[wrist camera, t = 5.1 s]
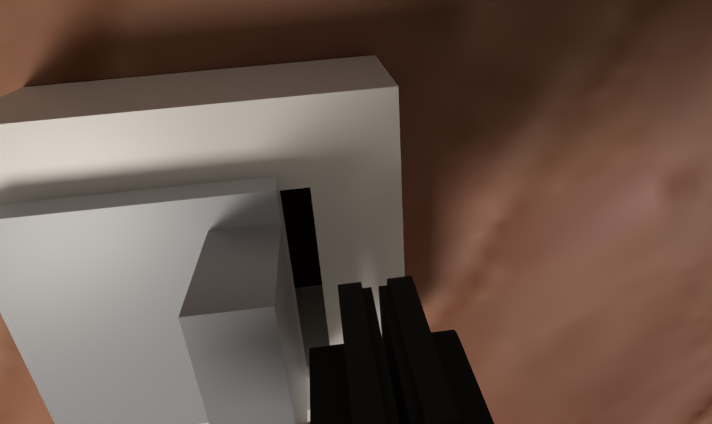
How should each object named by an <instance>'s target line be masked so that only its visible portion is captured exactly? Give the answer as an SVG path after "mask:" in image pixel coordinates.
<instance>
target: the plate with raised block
mask: <svg viewBox="0 0 712 424" xmlns="http://www.w3.org/2000/svg"><path fill="white" fill-rule="evenodd" d="M0 313H1V315H2V317H3V319H4V321H5V323H6V325H7V327H8V329H9V331H10V333H11V335H12V337H13V339H14V342H15V344H16V346H17V348H18V350H19V352H20V354H21V356H22V358H23V360H24V362H25V364H26V366H27V368H28V370H29V372H30V374H31V376H32V378H33V380H34V382H35V384H36V386H37V389H38V391H39V393H40V395H41V397H42V399H43V401H44V403H45V405H46V407H47V409H48V411H49V413H50V415H51V417H52V419H53V421H54V423H55V424H202V423H209V424H307V410H310V384H309V377H308V371H307V364H306V358H305V351H304V345H303V338H302V332H301V325H300V319H299V312H298V306H297V300H296V293H295V287H294V280H293V274H292V267H291V261H290V254H289V248H288V241H287V235H286V228H285V222H284V215H283V209H282V202H281V196H280V189H279V183H278V177H277V176H272V177H262V178H252V179H242V180H233V181H223V182H213V183H204V184H194V185H184V186H174V187H165V188H155V189H145V190H135V191H126V192H116V193H106V194H96V195H87V196H77V197H67V198H58V199H48V200H38V201H28V202H19V203H9V204H0Z"/></svg>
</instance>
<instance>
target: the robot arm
mask: <svg viewBox="0 0 712 424" xmlns="http://www.w3.org/2000/svg"><path fill="white" fill-rule="evenodd" d="M337 286H338V295H339V305H340V314H341V323H342V333H343V342H344V344H337V345H329V346H321V347H313V348H310V349H309V376H310V424H494V422H493V420H492V417H491V415H490V412H489V410H488V408H487V405H486V403H485V400H484V398H483V395H482V393H481V391H480V388H479V386H478V383H477V381H476V378H475V376H474V373H473V371H472V369H471V366H470V364H469V361H468V359H467V356H466V354H465V351H464V349H463V347H462V344H461V342H460V339H459V337H458V335H457V333H456V331H455V330H448V331H440V332H432V333H431V331H430V328H429V325H428V323H427V320H426V317H425V314H424V311H423V308H422V305H421V302H420V299H419V296H418V293H417V290H416V287H415V285H414V282H413V279H412V276H405V277H396V278H388V279H387V285H384V286H379V304H380V317H381V331H382V335H381V331H380V326H379V321H378V316H377V311H376V307H375V302H374V297H373V292H372V288H371V287H367V288H362V284H361V282H355V283H347V284H338V285H337Z"/></svg>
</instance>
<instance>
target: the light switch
mask: <svg viewBox="0 0 712 424" xmlns="http://www.w3.org/2000/svg"><path fill="white" fill-rule="evenodd" d="M272 176H277V177H278V183H279V189H280V190H290V189H299V188H309V187H310V190H311V198H312V206H313V214H314V222H315V230H316V238H317V246H318V254H319V262H320V270H321V278H322V285H316V286H307V287H298V288H295V293H296V300H297V306H298V312H299V319H300V325H301V332H302V338H303V345H304V351H305V358H306V364H307V371H308V377H309V384H310V376H309V349H310V348H313V347H321V346H329V345H337V344H344V342H343V333H342V323H341V314H340V305H339V295H338V286H337V285H338V284H347V283H355V282H361V284H362V288H367V287H371V288H372V292H373V297H374V302H375V307H376V311H377V316H378V321H379V326H380V331H381V317H380V304H379V286H384V285H387V279H388V278H396V277H405V267H404V237H403V208H402V178H401V148H400V119H399V89H398V85H397V84H396V82H395V81H394V80H393V78H392V77H391V76H390V74H389V73H388V72H387V70H386V69H385V67H384V66H383V65H382V63H381V62H380V61H379V59H378V58H377V57H376V55H370V56H359V57H348V58H337V59H326V60H315V61H304V62H293V63H282V64H271V65H260V66H249V67H238V68H228V69H217V70H206V71H195V72H184V73H173V74H162V75H151V76H140V77H129V78H118V79H107V80H96V81H85V82H75V83H64V84H53V85H42V86H31V87H22V88H20V89H17V90H15V91H13V92H11V93H9V94H7V95H5V96H3V97H0V204H9V203H19V202H28V201H38V200H48V199H58V198H67V197H77V196H87V195H96V194H106V193H116V192H126V191H135V190H145V189H155V188H165V187H174V186H184V185H194V184H204V183H213V182H223V181H233V180H242V179H252V178H262V177H272ZM381 335H382V331H381ZM309 421H310V410H307V422H309ZM202 424H209V423H202Z"/></svg>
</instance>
